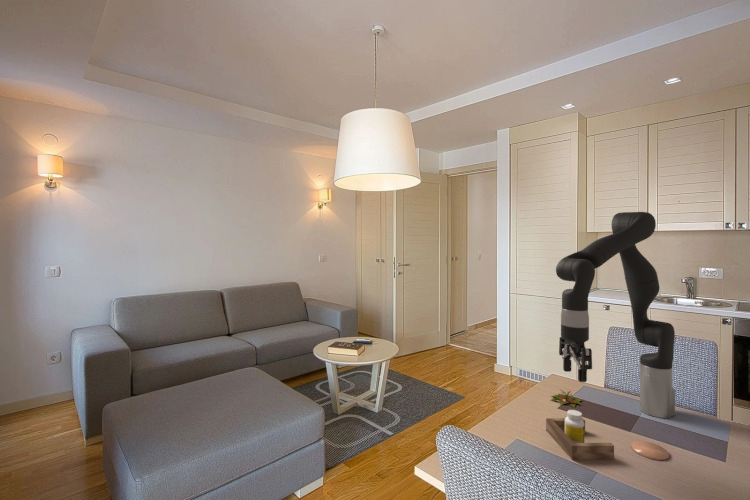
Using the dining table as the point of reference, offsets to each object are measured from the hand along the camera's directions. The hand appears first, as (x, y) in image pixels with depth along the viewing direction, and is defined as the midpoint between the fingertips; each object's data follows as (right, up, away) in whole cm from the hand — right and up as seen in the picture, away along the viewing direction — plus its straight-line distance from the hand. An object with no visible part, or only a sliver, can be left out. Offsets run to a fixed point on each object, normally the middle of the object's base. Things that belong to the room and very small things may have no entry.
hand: (574, 376), depth 111 cm
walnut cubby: (+1, -21, +1) cm, 21 cm away
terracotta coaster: (+20, -21, -4) cm, 29 cm away
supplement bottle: (0, -21, +1) cm, 21 cm away
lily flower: (+14, -21, +30) cm, 39 cm away
